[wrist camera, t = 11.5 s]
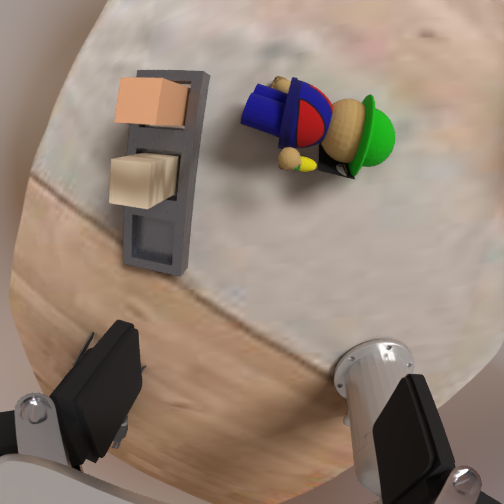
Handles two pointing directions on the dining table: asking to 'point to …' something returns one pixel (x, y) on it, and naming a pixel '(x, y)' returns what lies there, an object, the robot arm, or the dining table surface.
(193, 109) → the rail
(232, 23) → the dining table surface
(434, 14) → the dining table surface
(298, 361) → the dining table surface
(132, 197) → the beech block
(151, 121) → the terracotta block
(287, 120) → the toy
